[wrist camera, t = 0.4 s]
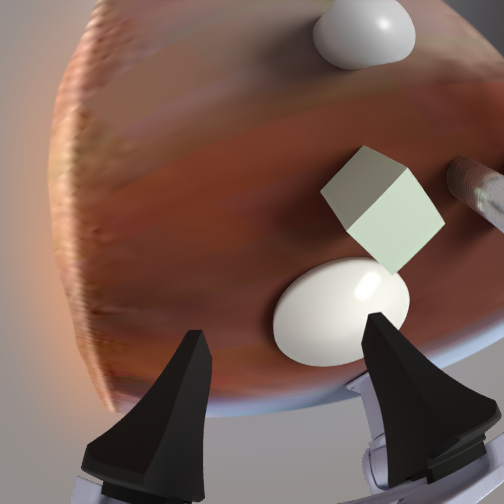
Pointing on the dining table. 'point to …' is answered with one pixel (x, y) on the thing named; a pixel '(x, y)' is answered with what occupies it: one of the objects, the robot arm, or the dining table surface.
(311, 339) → the plate
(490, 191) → the salt shaker
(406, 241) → the sage block
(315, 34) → the white rounded domed part
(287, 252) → the dining table surface
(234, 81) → the dining table surface
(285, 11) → the dining table surface
